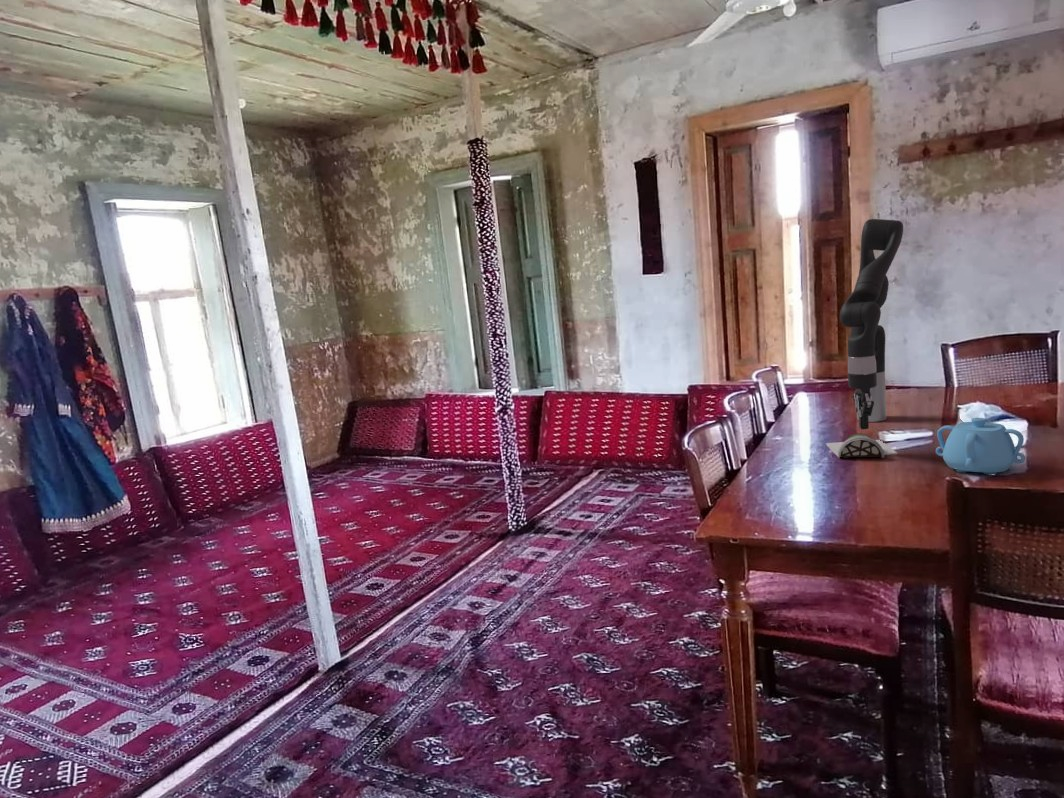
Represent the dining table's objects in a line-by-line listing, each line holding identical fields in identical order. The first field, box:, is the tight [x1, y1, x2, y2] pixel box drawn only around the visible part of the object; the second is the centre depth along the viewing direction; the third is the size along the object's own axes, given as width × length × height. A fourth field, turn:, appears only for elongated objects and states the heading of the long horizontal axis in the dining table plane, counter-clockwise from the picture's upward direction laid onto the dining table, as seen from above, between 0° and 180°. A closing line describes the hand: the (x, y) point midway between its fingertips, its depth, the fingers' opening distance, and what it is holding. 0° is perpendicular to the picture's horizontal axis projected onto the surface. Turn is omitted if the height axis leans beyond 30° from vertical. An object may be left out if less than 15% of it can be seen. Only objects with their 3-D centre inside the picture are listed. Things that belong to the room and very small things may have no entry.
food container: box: [837, 432, 885, 459], centre depth 200 cm, size 12×6×10 cm
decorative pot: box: [935, 417, 1026, 476], centre depth 176 cm, size 16×16×14 cm
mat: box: [825, 439, 898, 457], centre depth 206 cm, size 16×16×1 cm
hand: (864, 428), depth 200 cm, fingers closed
